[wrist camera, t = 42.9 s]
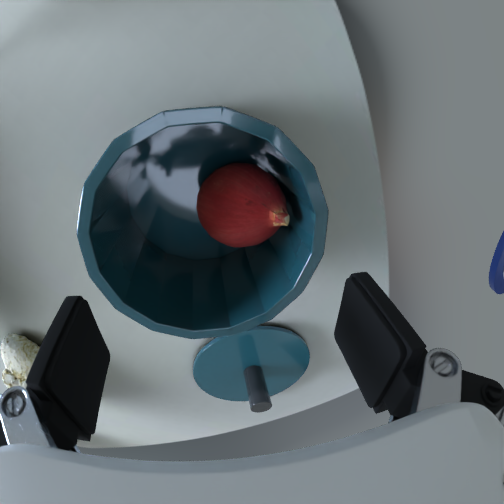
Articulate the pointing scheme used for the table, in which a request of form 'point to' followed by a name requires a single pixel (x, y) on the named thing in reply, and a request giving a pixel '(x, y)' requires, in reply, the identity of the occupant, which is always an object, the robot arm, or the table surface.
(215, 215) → the red pomegranate
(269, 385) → the lid
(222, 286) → the pot
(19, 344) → the decorative item
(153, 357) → the table surface
